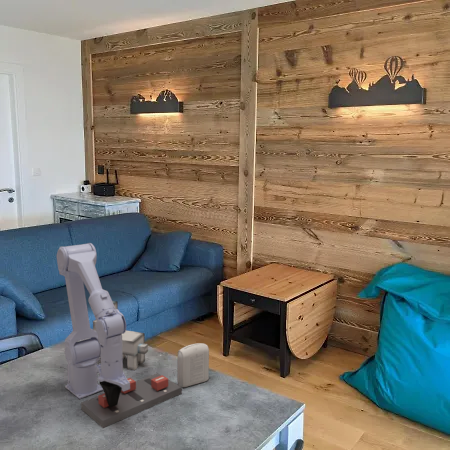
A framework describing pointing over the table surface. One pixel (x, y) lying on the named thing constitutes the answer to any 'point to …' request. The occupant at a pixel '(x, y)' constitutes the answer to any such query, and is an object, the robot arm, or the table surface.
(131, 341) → the toy llama
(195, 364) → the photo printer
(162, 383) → the switch
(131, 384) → the switch
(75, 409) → the table surface
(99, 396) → the switch
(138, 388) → the slider switch panel
